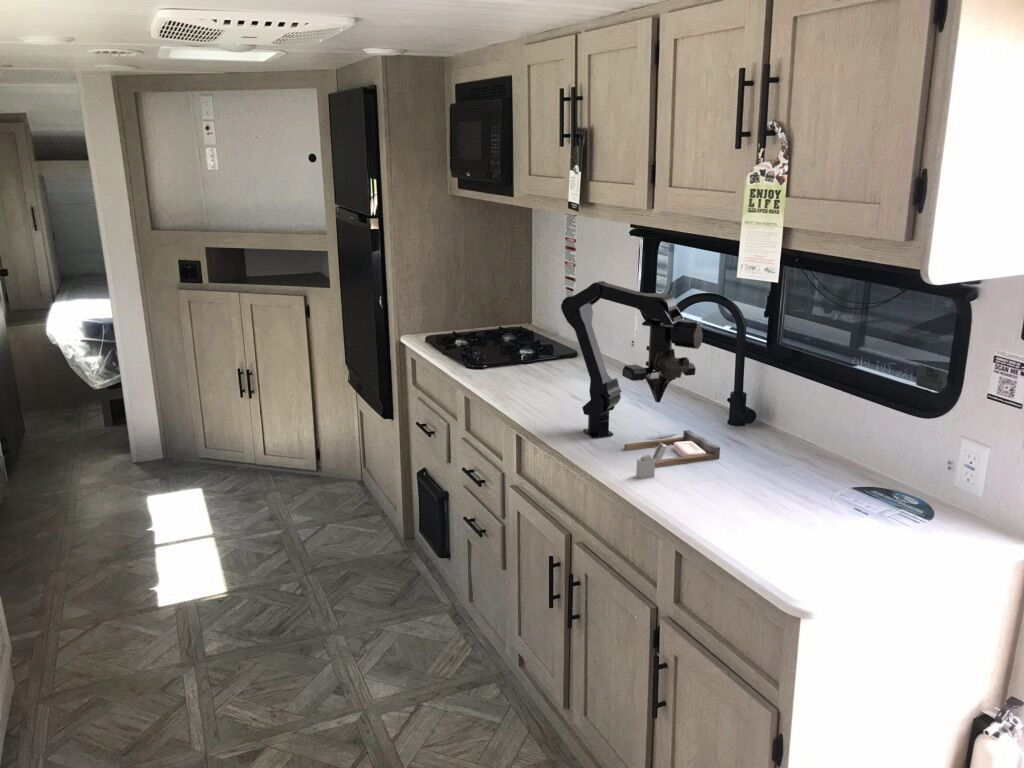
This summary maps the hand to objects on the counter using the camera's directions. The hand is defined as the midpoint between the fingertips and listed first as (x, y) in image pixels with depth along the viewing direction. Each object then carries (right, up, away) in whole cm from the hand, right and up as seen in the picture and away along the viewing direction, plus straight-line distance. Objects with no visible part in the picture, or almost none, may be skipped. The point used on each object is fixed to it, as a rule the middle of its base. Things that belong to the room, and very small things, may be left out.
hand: (657, 402), depth 225 cm
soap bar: (+8, -14, -3) cm, 16 cm away
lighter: (-5, -18, -18) cm, 26 cm away
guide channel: (+2, -13, -3) cm, 14 cm away
